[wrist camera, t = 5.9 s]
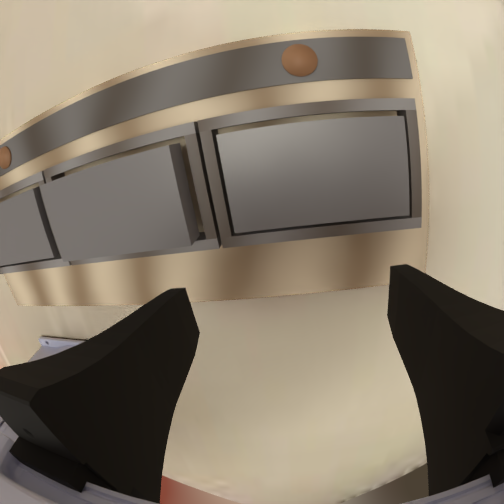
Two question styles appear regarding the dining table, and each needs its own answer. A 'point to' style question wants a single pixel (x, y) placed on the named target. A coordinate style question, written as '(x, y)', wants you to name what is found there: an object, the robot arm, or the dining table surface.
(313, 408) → the dining table surface
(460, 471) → the robot arm
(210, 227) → the switch unit
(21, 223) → the key
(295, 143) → the key
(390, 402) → the dining table surface
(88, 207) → the key middle
